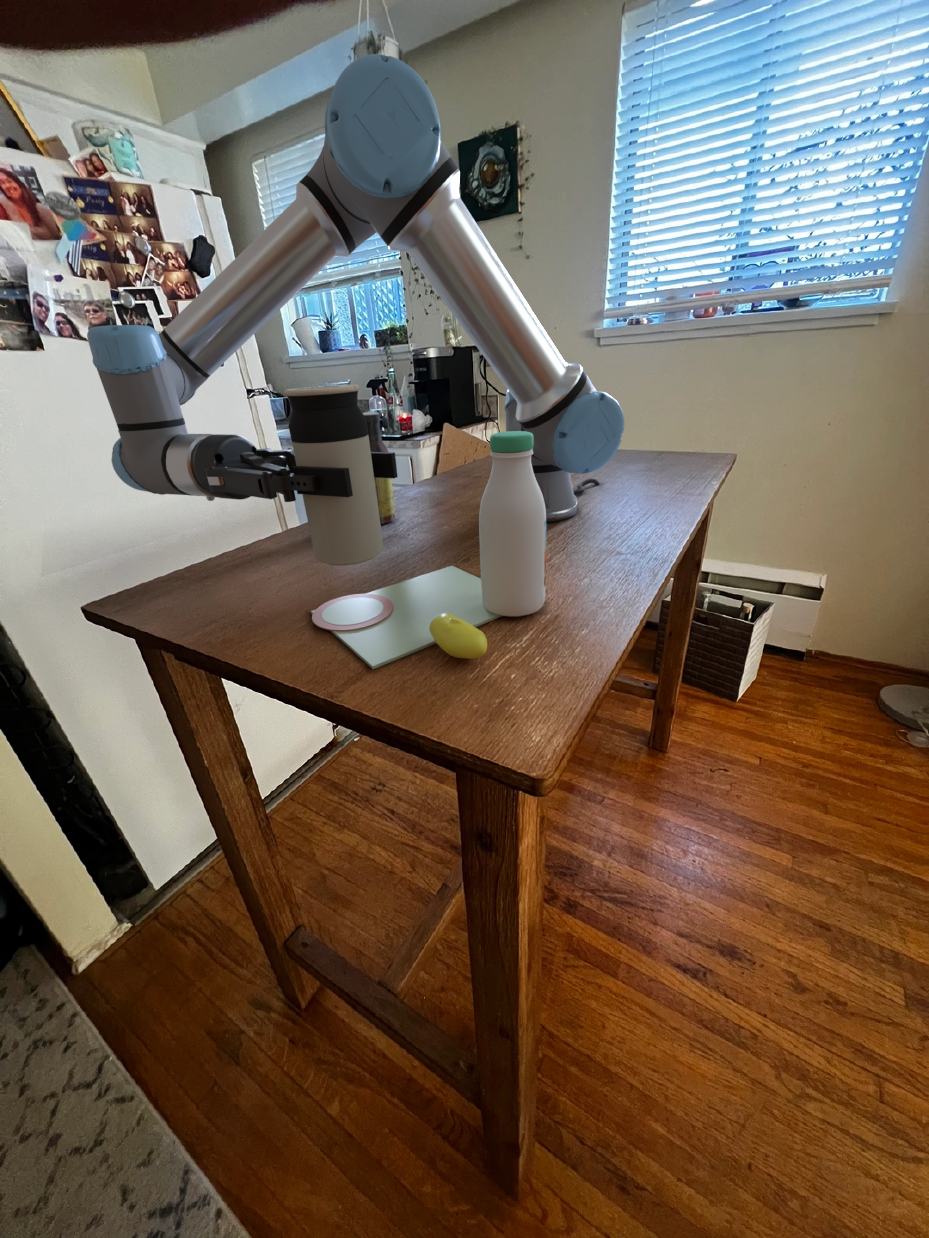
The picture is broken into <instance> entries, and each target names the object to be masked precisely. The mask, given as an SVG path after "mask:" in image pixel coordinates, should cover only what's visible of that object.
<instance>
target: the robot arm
mask: <svg viewBox="0 0 929 1238" xmlns="http://www.w3.org/2000/svg"><path fill="white" fill-rule="evenodd" d="M441 138H442V130H441V122H440V115H439V111H438V108H437V105H436V102H435V99H434V97H433V95H432V92H431V91H430V89H429V87H428V85H427V84H426V82H425V81H424V79H423V78H422V77H421V76H420V75H419V73H418V72H417V71H415V69H413V68H412V66H410V65H409V64H407V63H406V62H404V61H403V60H401V59H399V58H397V57H394V56H393V55H392V56H391V55H385V54H378V53H373V54H372V53H371V54H367V55H363V56H360V57H358V58H356V59H355V60H353V61H352V62H351V63H349V64H348V65H347V66H346V67H345V68H344V69H343V70H342V71H341V73H340V75H338V78H337V80H336V82H335V83H334V85H333V89H332V90H331V93H330V95H329V99H328V101H327V104H326V109H325V112H324V142H323V146H322V148H321V151H320V154H319V155H318V157H317V159H316V160H315V162H314V164H313V165H312V167H311V168H310V170H309V171H308V172H307V173H306V174H305V175H304V176H303V177H302V178H301V180H299V181H298V182H297V183H296V187H295V190H296V191H295V200H293V201H292V202H291V203H290V204H289V205H288V206H287V207H286V208H285V209H284V210H283V211H282V212H281V213H280V214H279V215H278V216H277V217H276V218H275V219H274V220H273V221H272V222H271V223H270V224H268V226H267V227H266V228H264V229H263V231H262V232H261V233H259V234H258V236H257V237H256V238H255V239H253V240H252V241H251V243H250V244H249V245H247V246H246V247H245V248H244V249H243V250H242V252H240V254H238V255H237V256H236V257H235V258H234V259H233V260H232V261H231V262H230V263H229V264H228V265H227V266H226V267H225V268H224V269H223V270H222V271H221V272H220V273H219V274H217V276H216V277H215V278H214V279H213V280H212V281H211V282H210V283H209V284H207V286H206V287H204V289H203V290H201V292H200V293H198V295H197V296H196V297H194V298H193V300H192V301H190V303H189V304H187V305H186V307H185V308H183V309H182V310H181V311H180V312H179V313H178V315H176V316H175V317H174V318H173V319H172V320H171V321H170V322H169V323H168V324H167V325H166V326H165V327H164V328H163V330H161V331H160V332H158V331H157V329H155V328H153V326H150V325H143V324H142V325H141V324H115V325H114V324H113V325H110V324H109V325H100V326H94V327H91V328H89V329H88V330H87V333H86V338H87V341H88V345H89V350H90V352H91V357H92V363H93V366H94V368H96V371H97V373H98V377H99V380H100V381H101V384H102V388H103V390H104V392H105V393H104V394H105V396H106V399H107V401H108V404H109V407H110V409H111V412H112V416H113V418H114V420H115V423H116V426H117V429H118V430H117V431H118V434H119V438H118V439H117V440H116V441H115V442H114V444H113V446H112V452H111V460H110V461H111V465H112V467H113V470H114V473H115V474H116V475H117V477H118V479H120V480H121V481H122V482H123V484H124V483H125V485H127V486H128V487H130V488H132V489H134V490H137V491H140V492H146V493H151V494H154V495H160V496H163V495H175V496H176V495H177V496H178V495H179V496H189V497H190V496H192V497H205V499H206V500H207V501H209V502H211V501H214V500H215V499H216V498H217V499H218V498H219V499H226V500H227V499H228V500H247V499H249V498H250V497H253V498H259V499H267V500H274V499H276V498H278V494H280V495H283V496H282V497H283V500H284V501H283V502H284V503H291V502H296V500H297V497H296V495H302V494H305V495H320V496H335V497H351V496H353V492H352V486H351V480H350V473H349V468H334V467H308V466H296V461H295V456H294V451H293V447H288V448H286V449H272V448H257V447H256V446H255V444H253V443H252V442H251V441H250V440H249V439H247V438H246V437H245V436H242V435H239V434H220V433H219V434H218V433H217V434H215V433H214V434H213V433H188V429H187V425H186V421H185V418H184V415H183V412H182V407H181V406H183V405H185V404H187V402H189V401H190V400H191V399H192V398H193V397H194V396H195V394H196V391H197V390H198V389H199V388H200V387H201V386H202V385H203V384H204V383H205V382H206V381H207V380H208V379H209V378H210V377H211V376H212V375H213V374H214V373H215V372H216V371H217V370H218V369H219V368H220V367H222V366H223V364H225V362H227V360H229V359H230V358H231V356H233V355H234V354H235V353H236V352H237V351H238V350H239V349H240V348H241V347H242V346H243V345H244V344H245V343H246V342H248V340H249V339H251V337H253V336H254V335H255V334H256V333H257V332H258V331H259V330H260V329H261V328H262V327H263V326H265V324H266V323H267V322H268V321H269V320H270V319H272V318H273V317H274V316H275V315H276V314H277V313H278V312H279V311H281V309H282V308H283V307H284V306H285V305H286V304H287V303H288V302H289V301H290V300H291V299H292V298H294V297H295V295H296V294H298V292H300V291H301V290H302V289H303V288H304V287H305V286H306V285H307V284H308V283H310V282H311V281H312V279H314V278H315V276H316V275H318V274H319V273H320V272H321V271H322V270H324V268H325V267H326V266H327V265H328V264H329V263H330V262H332V260H333V259H334V258H335V257H342V258H348V257H349V256H350V255H351V254H352V253H353V252H354V251H355V250H356V249H358V248H359V247H360V246H361V245H362V244H364V242H366V241H368V240H369V239H370V238H372V237H373V236H374V235H376V234H378V236H379V237H380V238H381V240H382V241H383V242H384V244H385V245H386V246H387V248H388V249H389V250H392V251H400V252H405V253H407V254H408V255H409V256H410V258H411V259H412V261H413V262H414V264H415V265H416V266H417V268H419V270H420V272H421V273H422V274H423V275H424V277H425V278H426V279H427V281H428V282H429V284H430V285H431V286H432V288H433V289H434V290H435V292H436V293H437V294H438V296H439V297H440V299H441V300H442V301H443V303H444V304H445V306H446V307H447V309H449V311H450V312H451V314H452V315H453V317H454V318H455V319H456V321H457V322H458V324H459V325H460V326H461V327H462V329H463V330H464V331H465V333H466V334H467V336H468V338H470V339H471V342H472V343H473V344H474V346H475V347H476V348H477V349H478V351H479V352H480V353H481V355H482V357H483V358H484V359H485V361H486V362H487V363H488V364H489V366H490V367H491V369H492V370H493V371H494V373H495V375H496V376H497V377H498V378H499V380H500V381H501V382H502V384H503V385H504V386H505V388H506V389H507V391H506V393H505V404H504V412H505V432H508V431H526V432H530V433H532V434H533V439H534V443H533V454H532V455H531V464H532V469H533V472H534V476H535V478H536V481H537V483H538V485H539V488H540V490H541V492H542V495H543V498H544V502H545V509H546V523H553V522H558V521H563V520H566V519H569V518H571V517H573V516H575V515H576V514H577V512H578V499H577V496H576V495H580V494H583V493H584V492H585V490H586V489H585V486H587V485H589V484H594V485H595V486H600V484H601V483H600V482H599V480H597V479H595V478H587V479H584V480H583V481H581V482H580V483H579V484H577V485H576V489H575V490H574V487H573V482H572V478H571V477H572V476H571V474H579V475H584V474H591V473H593V472H596V471H598V470H599V469H601V468H603V467H604V466H605V465H606V464H607V463H609V462H610V461H611V459H612V458H613V457H614V456H615V454H616V453H617V451H618V449H619V448H620V445H621V443H622V437H623V434H624V431H625V416H624V412H623V409H622V407H621V404H620V403H619V402H618V401H617V399H615V398H614V397H613V396H611V395H609V394H608V393H607V392H605V391H601V390H597V389H596V388H595V385H594V384H593V383H592V381H591V379H590V378H589V375H588V374H587V373H586V371H585V369H584V368H583V367H582V365H581V364H580V363H578V362H568V361H565V360H564V357H562V355H561V354H560V352H559V350H558V349H557V347H556V346H555V344H554V343H553V341H552V339H551V337H550V336H549V335H548V333H547V331H546V330H545V328H544V327H543V326H542V325H543V324H541V322H540V321H539V319H538V317H537V316H536V314H535V313H534V311H533V309H532V308H531V306H530V305H529V303H528V302H527V300H526V298H525V297H524V295H523V294H522V293H521V291H520V289H519V287H518V286H517V284H516V283H515V282H514V280H513V278H512V277H511V275H510V274H509V271H508V270H507V269H506V267H505V266H504V264H503V263H502V261H501V260H500V258H499V256H498V255H497V253H496V252H495V250H494V248H493V247H492V245H491V243H490V242H489V240H488V239H487V238H486V236H485V235H484V233H483V231H482V230H481V228H480V227H479V225H478V223H477V222H476V220H475V219H474V217H473V216H472V214H471V213H470V211H469V209H468V208H467V206H466V204H465V203H464V202H463V200H462V198H461V196H460V177H461V171H460V169H459V167H458V166H457V164H456V162H455V161H454V159H453V157H452V156H451V154H450V152H449V151H448V149H447V148H446V145H444V142H443V141H442V139H441ZM371 458H372V465H373V473H374V478H392V479H396V478H398V469H397V457H396V453H395V452H390V451H388V452H371ZM295 491H296V493H297V494H296V493H295Z"/></svg>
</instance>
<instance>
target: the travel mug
mask: <svg viewBox="0 0 929 1238" xmlns="http://www.w3.org/2000/svg"><path fill="white" fill-rule="evenodd" d="M360 389H361V388H360V385H359V384H334V385H333V384H332V385H320V386H319V385H318V386H306V387H295V388H288V389H285V390H284V391H283V393H284V395H285V397H287V399H288V401H289V404H290V407H291V410H292V412H291V415H290V419H289V422H288V429H289V435H290V440H291V446H292V448H293V451H294V456H295V461H296V466H308V467H334V468H349V473H350V480H351V486H352V492H353V496H351V497H335V496H320V495H305V494H301V495H302V500H303V505H304V509H305V514H306V515H305V516H306V519H307V520H306V521H307V524H308V525H307V526H308V528H309V529H308V530H309V534H310V539H311V544H312V549H313V553H314V558H315V559H316V560H317V561H318V562H320V563H322V564H327V565H331V566H352V565H358V564H362V563H366V562H368V561H371V560H373V559H374V558H376V557H378V556H379V555H381V554H382V553H383V552H384V549H385V548H384V541H383V533H382V524H381V525H380V517H379V510H378V503H377V495H376V488H375V480H374V473H373V465H372V458H371V451H370V443H369V436H368V428H367V421H366V418H365V416H364V415H363V413H364V412H362V409H361V408H360V407H359V405H358V404H359V401H358V400H359V399H358V398H359V397H358V394H359V390H360Z"/></svg>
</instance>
